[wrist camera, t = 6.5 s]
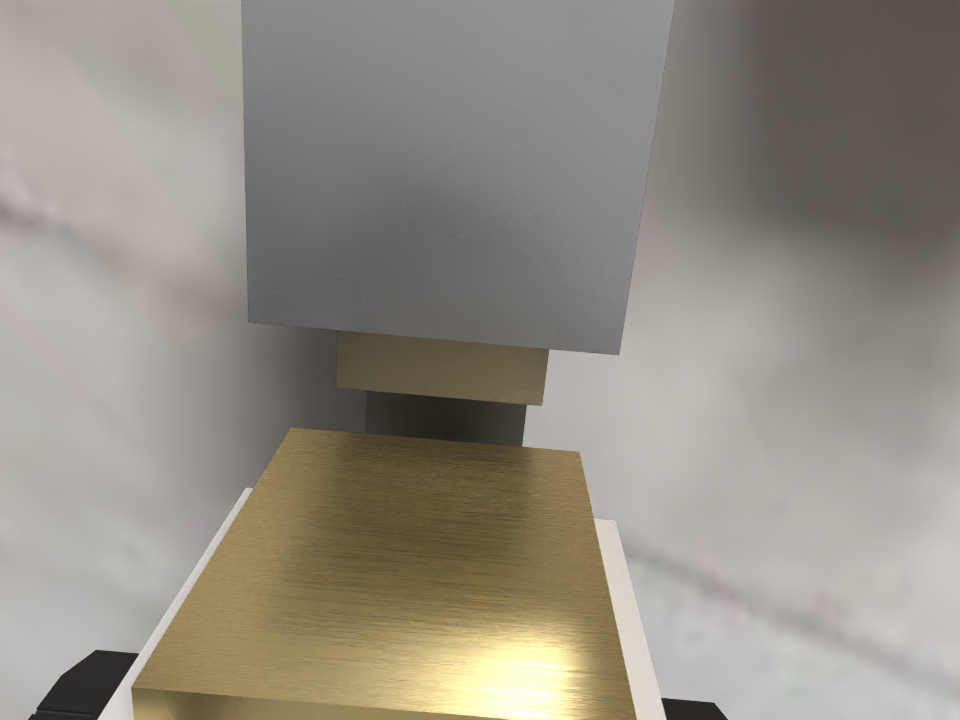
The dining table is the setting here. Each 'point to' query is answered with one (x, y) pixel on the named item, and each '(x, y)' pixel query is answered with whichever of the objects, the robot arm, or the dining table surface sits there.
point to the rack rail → (442, 386)
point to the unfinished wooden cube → (398, 592)
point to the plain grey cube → (449, 165)
